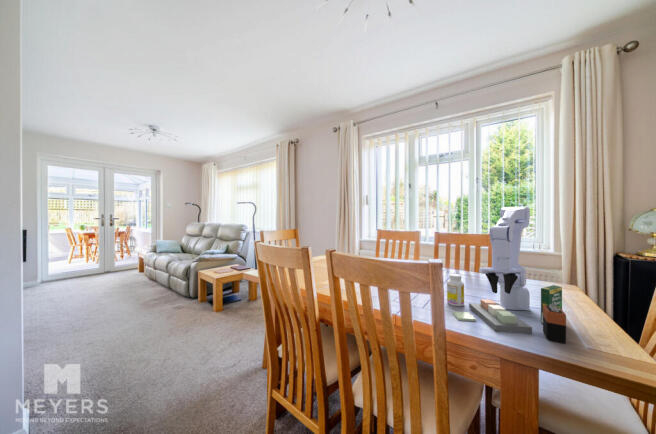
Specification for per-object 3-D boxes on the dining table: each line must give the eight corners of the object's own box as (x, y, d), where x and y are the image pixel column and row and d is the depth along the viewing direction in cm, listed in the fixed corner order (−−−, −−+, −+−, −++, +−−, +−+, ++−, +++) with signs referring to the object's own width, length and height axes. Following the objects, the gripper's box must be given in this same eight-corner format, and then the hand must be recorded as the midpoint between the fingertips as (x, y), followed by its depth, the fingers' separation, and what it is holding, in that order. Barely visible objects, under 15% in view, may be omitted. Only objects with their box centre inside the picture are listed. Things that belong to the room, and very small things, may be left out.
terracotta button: (491, 306, 96) (491, 299, 96) (496, 310, 92) (496, 303, 92) (480, 306, 96) (480, 299, 96) (485, 310, 92) (485, 302, 92)
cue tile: (468, 314, 92) (468, 312, 92) (476, 321, 87) (476, 319, 87) (452, 313, 93) (452, 311, 93) (458, 320, 87) (458, 318, 87)
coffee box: (549, 327, 82) (549, 289, 82) (539, 323, 84) (539, 287, 84) (563, 323, 85) (563, 287, 85) (553, 319, 87) (553, 284, 87)
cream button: (499, 312, 90) (499, 305, 90) (505, 317, 86) (505, 309, 86) (488, 312, 90) (488, 304, 90) (493, 316, 87) (493, 308, 87)
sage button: (509, 319, 84) (509, 311, 84) (516, 325, 80) (516, 316, 80) (496, 319, 85) (496, 310, 85) (503, 324, 81) (503, 315, 81)
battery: (547, 340, 73) (547, 308, 73) (542, 331, 79) (542, 301, 79) (566, 344, 71) (566, 311, 71) (560, 335, 76) (560, 304, 76)
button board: (497, 309, 97) (497, 304, 97) (531, 333, 78) (531, 327, 78) (469, 307, 99) (469, 303, 99) (495, 331, 79) (495, 325, 79)
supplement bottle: (460, 301, 106) (459, 273, 106) (467, 307, 100) (467, 277, 100) (444, 300, 107) (444, 272, 107) (450, 306, 101) (450, 276, 100)
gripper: (485, 258, 87) (485, 295, 87) (529, 259, 85) (529, 297, 85) (476, 255, 94) (476, 289, 94) (516, 256, 92) (516, 290, 92)
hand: (500, 292), depth 90 cm, fingers open, 4 cm apart
